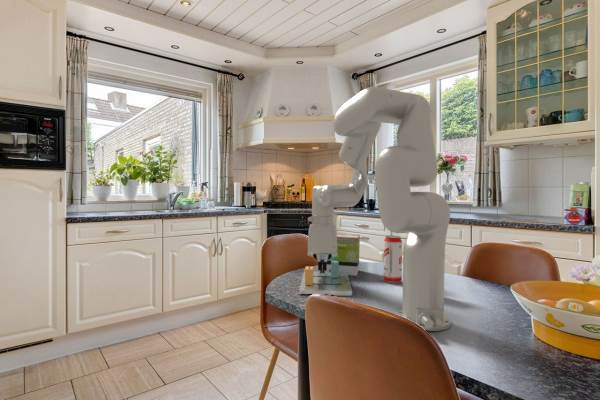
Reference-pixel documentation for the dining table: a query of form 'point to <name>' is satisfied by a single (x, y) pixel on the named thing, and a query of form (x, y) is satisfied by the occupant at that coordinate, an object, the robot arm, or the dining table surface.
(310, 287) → the console
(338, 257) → the tea box
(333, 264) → the fader teal
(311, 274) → the fader orange
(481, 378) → the dining table surface
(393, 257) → the beer can
